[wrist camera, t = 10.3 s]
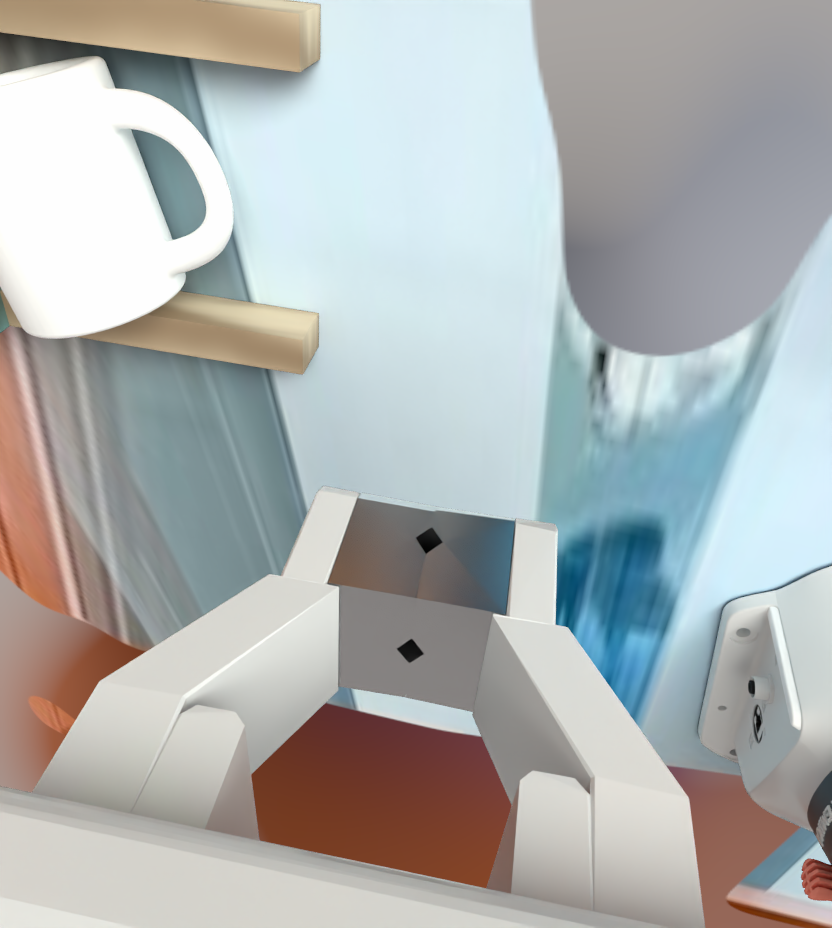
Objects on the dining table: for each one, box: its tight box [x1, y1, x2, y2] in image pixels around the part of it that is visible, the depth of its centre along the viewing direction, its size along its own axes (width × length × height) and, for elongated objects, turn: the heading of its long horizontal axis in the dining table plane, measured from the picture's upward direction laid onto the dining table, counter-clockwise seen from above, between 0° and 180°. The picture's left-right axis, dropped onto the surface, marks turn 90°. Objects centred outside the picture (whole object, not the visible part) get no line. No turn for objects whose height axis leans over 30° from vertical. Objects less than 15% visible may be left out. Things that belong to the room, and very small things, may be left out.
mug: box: [0, 56, 234, 339], centre depth 33 cm, size 12×10×8 cm
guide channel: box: [0, 0, 320, 374], centre depth 34 cm, size 16×18×5 cm
